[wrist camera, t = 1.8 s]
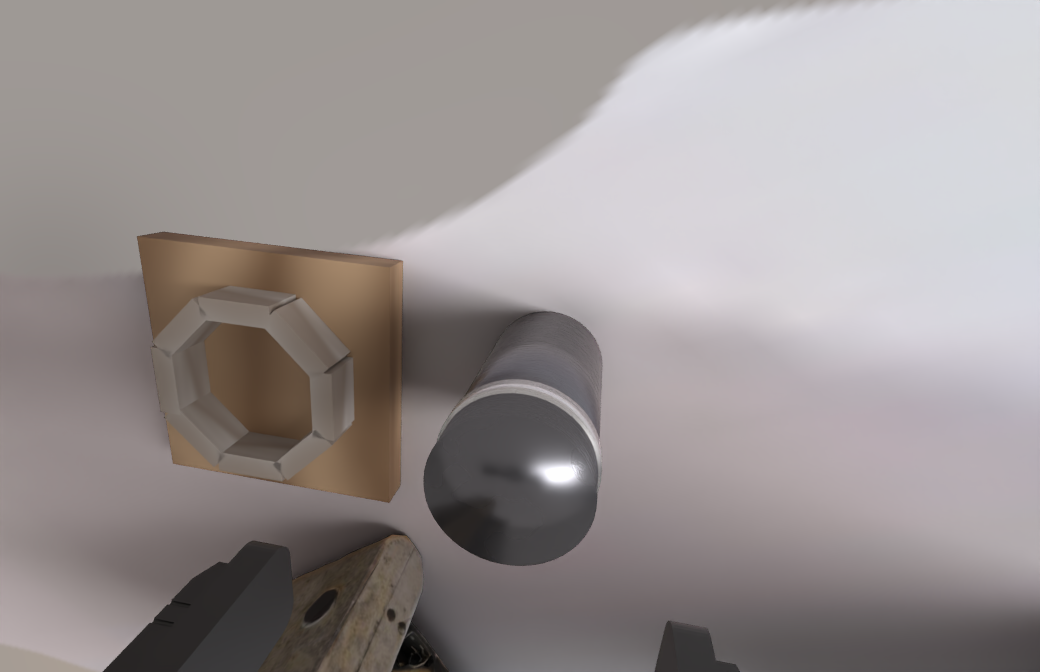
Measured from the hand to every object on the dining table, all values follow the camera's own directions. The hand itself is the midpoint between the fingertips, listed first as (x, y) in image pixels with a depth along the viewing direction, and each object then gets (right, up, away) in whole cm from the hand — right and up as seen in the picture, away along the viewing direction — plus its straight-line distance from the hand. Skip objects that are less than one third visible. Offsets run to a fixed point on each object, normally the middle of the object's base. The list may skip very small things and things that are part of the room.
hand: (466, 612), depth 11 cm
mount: (-11, +4, +16) cm, 19 cm away
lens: (+2, +4, +13) cm, 14 cm away
